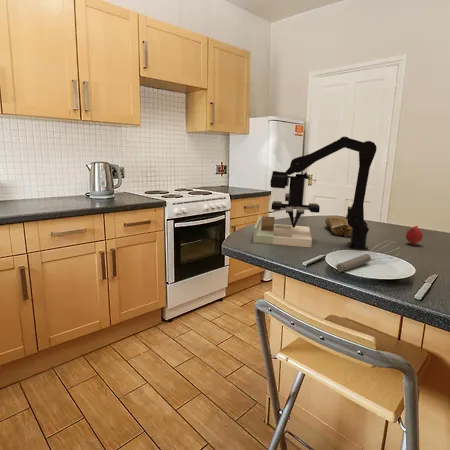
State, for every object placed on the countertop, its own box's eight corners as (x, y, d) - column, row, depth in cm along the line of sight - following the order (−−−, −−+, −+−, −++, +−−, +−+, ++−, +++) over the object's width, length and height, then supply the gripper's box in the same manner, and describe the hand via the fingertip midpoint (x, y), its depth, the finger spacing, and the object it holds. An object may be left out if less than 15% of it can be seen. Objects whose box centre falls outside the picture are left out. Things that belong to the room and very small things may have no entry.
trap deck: (311, 247, 126) (312, 232, 125) (253, 242, 130) (254, 227, 129) (308, 233, 147) (309, 220, 146) (258, 229, 151) (259, 216, 150)
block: (273, 231, 136) (274, 219, 135) (260, 230, 137) (261, 218, 136) (273, 228, 141) (274, 217, 140) (262, 227, 142) (262, 216, 141)
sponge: (355, 241, 143) (354, 222, 160) (354, 224, 140) (353, 207, 157) (323, 242, 148) (326, 224, 165) (321, 226, 145) (324, 209, 162)
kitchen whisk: (325, 270, 104) (328, 251, 102) (385, 254, 123) (388, 237, 121) (342, 277, 99) (345, 256, 97) (402, 259, 118) (404, 242, 116)
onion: (412, 247, 132) (415, 227, 130) (401, 243, 137) (404, 224, 135) (424, 246, 133) (427, 227, 132) (412, 242, 139) (415, 223, 137)
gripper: (319, 188, 139) (315, 224, 143) (274, 186, 143) (271, 221, 146) (321, 191, 129) (317, 230, 132) (272, 189, 132) (270, 227, 136)
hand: (293, 227), depth 137 cm, fingers closed
